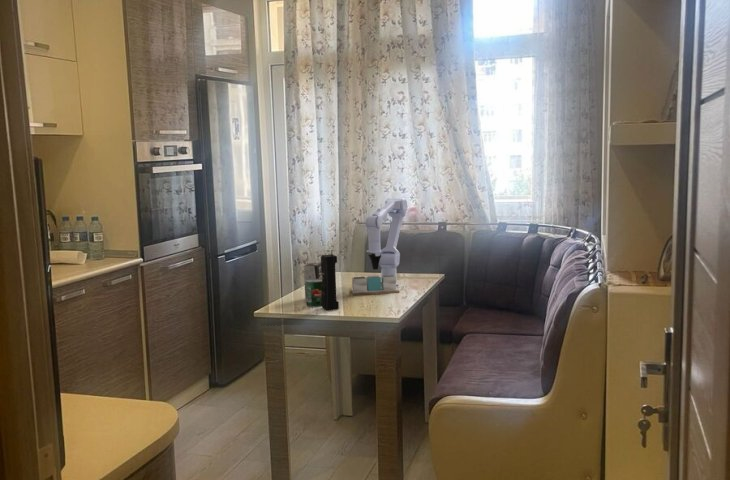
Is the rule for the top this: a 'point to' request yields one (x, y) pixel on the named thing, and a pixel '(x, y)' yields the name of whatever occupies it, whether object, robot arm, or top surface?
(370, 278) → the module
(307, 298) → the canned tomato
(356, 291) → the board
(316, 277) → the coffee box
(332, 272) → the portable radio
